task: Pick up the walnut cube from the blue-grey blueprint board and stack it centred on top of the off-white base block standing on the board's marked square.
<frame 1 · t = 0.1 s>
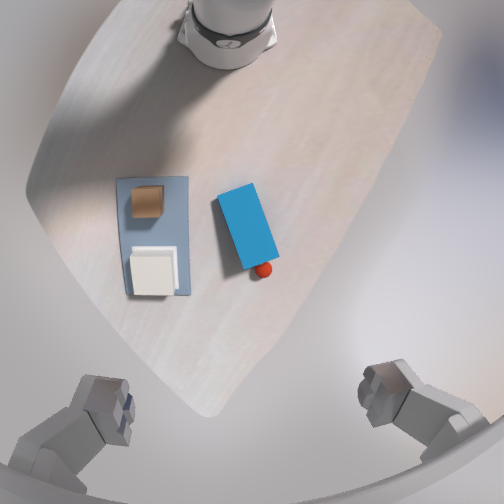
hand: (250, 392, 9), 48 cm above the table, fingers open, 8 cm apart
lever: (250, 232, 57), on the table
walnut cube: (151, 198, 51), point 1 cm above the table, touching blueprint board
base block: (155, 268, 56), point 1 cm above the table, touching blueprint board
blueprint board: (154, 238, 55), on the table
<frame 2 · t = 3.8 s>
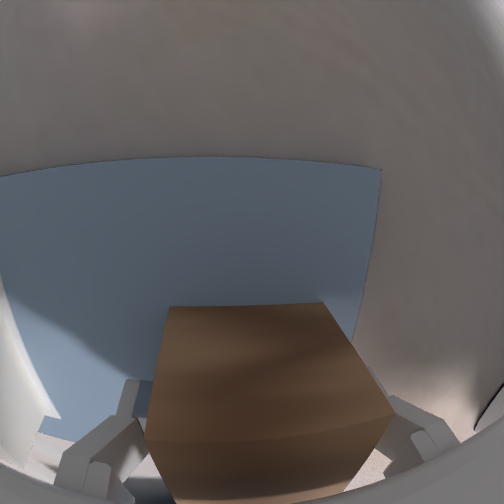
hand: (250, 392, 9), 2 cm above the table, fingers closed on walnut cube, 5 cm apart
walnut cube: (246, 363, 10), point 1 cm above the table, touching blueprint board, gripper
blueprint board: (57, 342, 10), on the table
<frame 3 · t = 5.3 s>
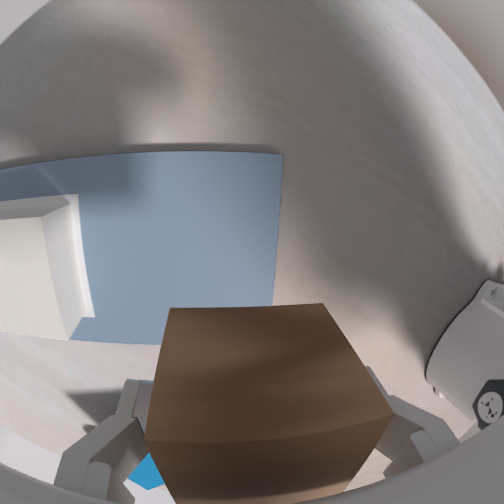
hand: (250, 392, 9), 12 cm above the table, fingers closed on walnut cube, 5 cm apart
lever: (163, 425, 26), on the table
walnut cube: (246, 365, 10), point 11 cm above the table, touching gripper
base block: (34, 260, 17), point 1 cm above the table, touching blueprint board
blueprint board: (105, 255, 19), on the table
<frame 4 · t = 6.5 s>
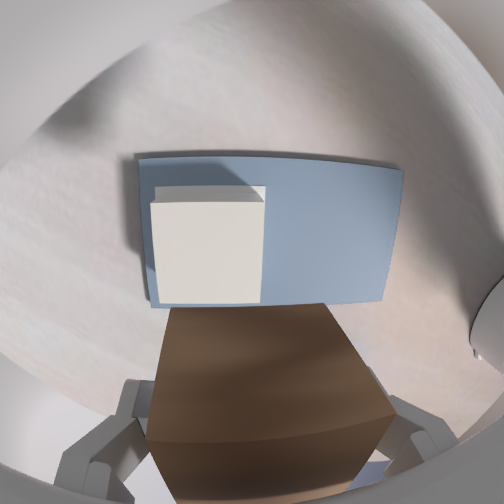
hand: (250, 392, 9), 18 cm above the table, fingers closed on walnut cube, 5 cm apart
walnut cube: (247, 364, 10), point 17 cm above the table, touching gripper
base block: (209, 239, 25), point 1 cm above the table, touching blueprint board
blueprint board: (277, 235, 26), on the table
when the fingers open (7 cm above the table, at t = 9.4 s): walnut cube drops 1 cm, resting on base block.
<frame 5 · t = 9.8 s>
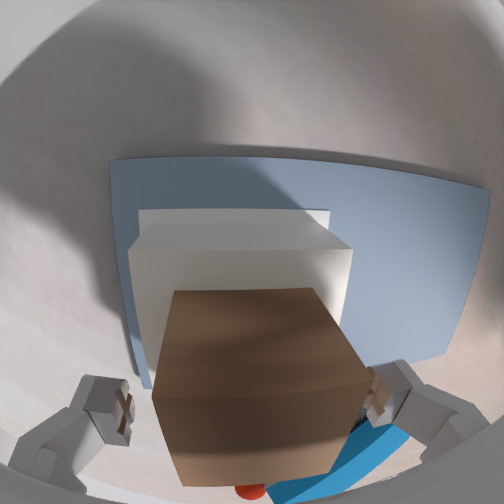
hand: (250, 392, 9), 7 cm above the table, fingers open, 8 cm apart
lever: (316, 450, 24), on the table
walnut cube: (243, 345, 11), point 5 cm above the table, touching base block
base block: (234, 297, 15), point 1 cm above the table, touching blueprint board, walnut cube
blueprint board: (336, 286, 16), on the table
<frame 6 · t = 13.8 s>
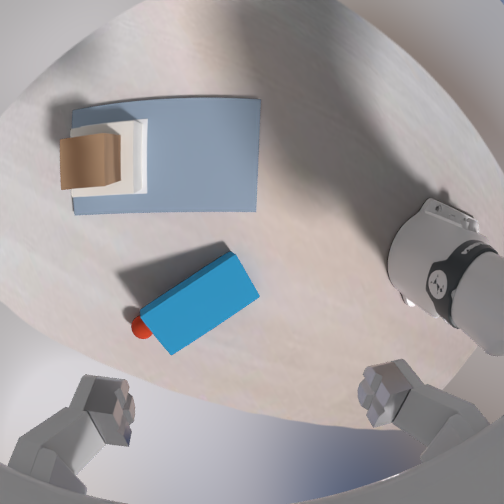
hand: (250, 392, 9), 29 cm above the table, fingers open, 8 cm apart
lever: (187, 298, 40), on the table
walnut cube: (100, 159, 27), point 5 cm above the table, touching base block
base block: (111, 158, 31), point 1 cm above the table, touching blueprint board, walnut cube
blueprint board: (159, 155, 32), on the table
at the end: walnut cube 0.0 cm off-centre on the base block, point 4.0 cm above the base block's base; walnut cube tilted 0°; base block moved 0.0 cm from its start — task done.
